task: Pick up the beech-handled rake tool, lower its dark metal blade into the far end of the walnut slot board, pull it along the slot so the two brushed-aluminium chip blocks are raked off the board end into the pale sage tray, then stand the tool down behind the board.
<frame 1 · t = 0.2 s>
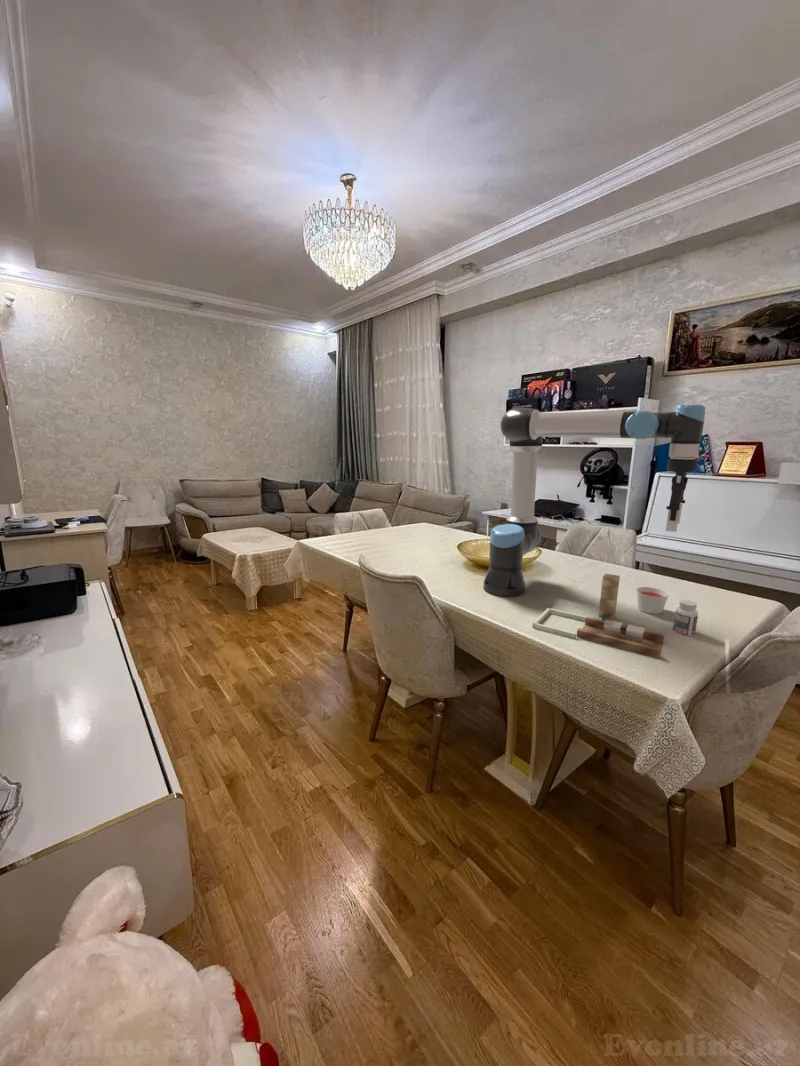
hand: (672, 527, 134), 28 cm above the table, fingers open, 13 cm apart
chip a: (611, 636, 120), point 1 cm above the table, touching slot board
white round cup: (649, 610, 140), on the table
pill bottle: (683, 634, 124), on the table
rake: (606, 619, 133), on the table
slot board: (619, 642, 119), on the table
tray: (560, 627, 128), on the table
chip b: (633, 642, 117), point 1 cm above the table, touching slot board
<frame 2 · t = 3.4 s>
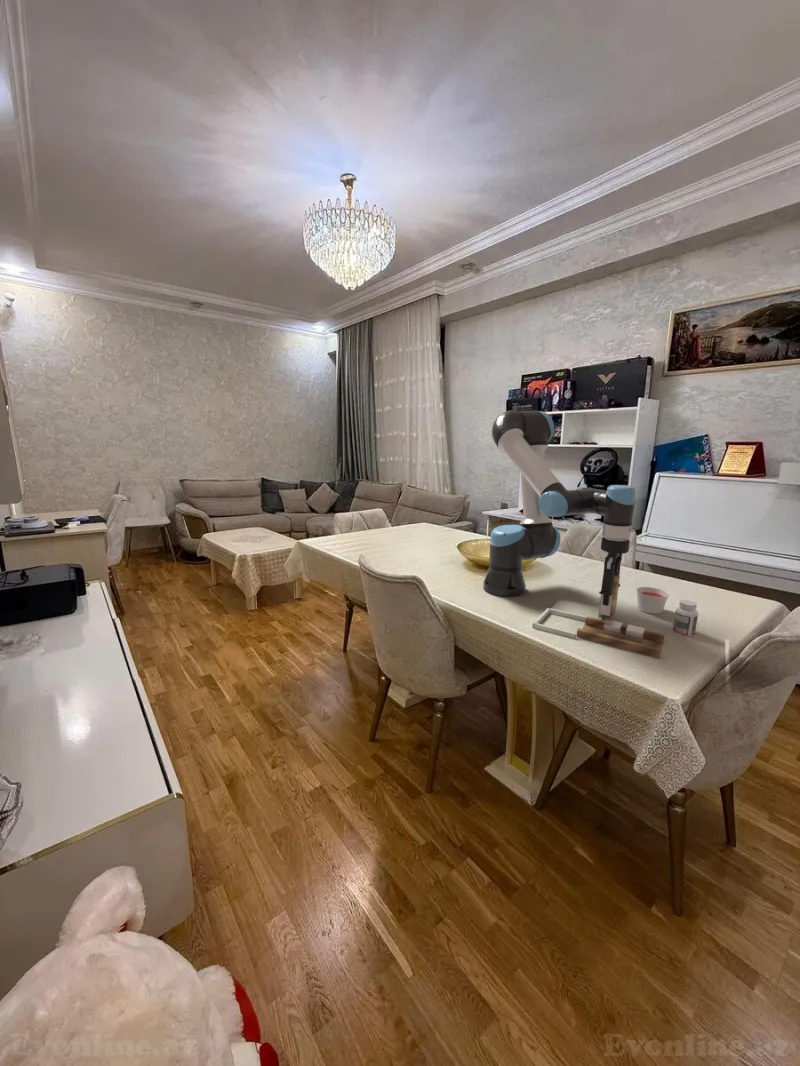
hand: (607, 610, 133), 3 cm above the table, fingers closed on rake, 7 cm apart
rake: (606, 619, 133), on the table, touching gripper
everything else where it was.
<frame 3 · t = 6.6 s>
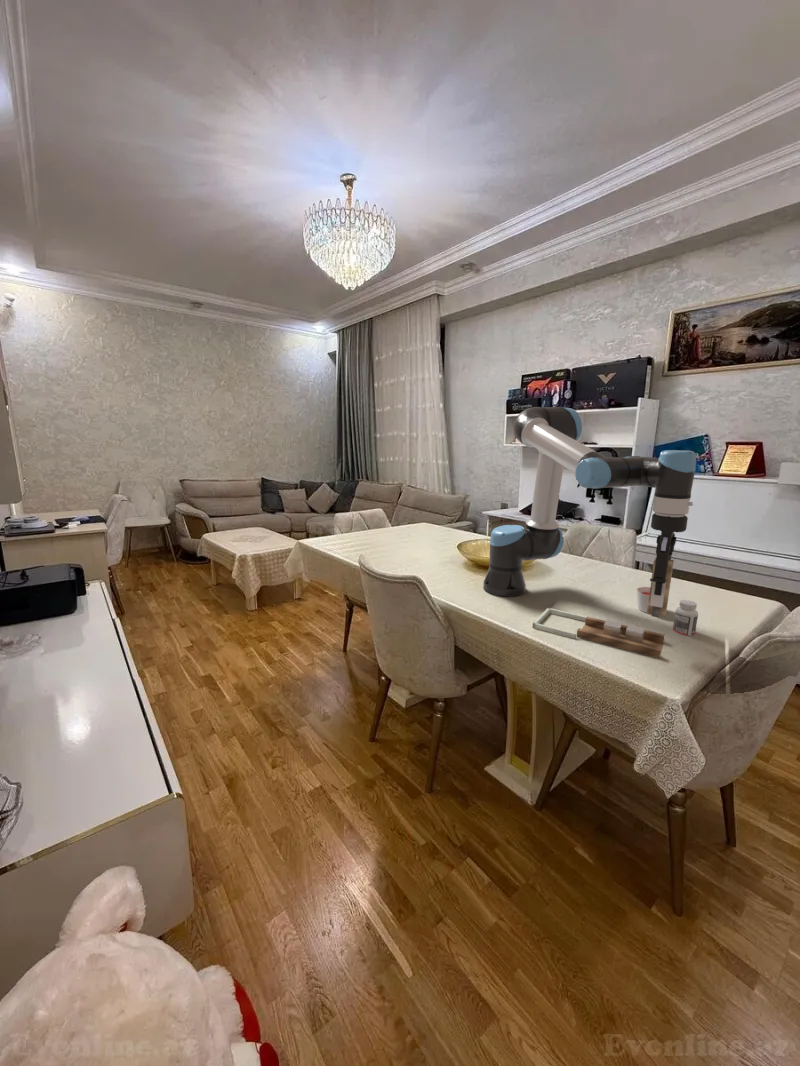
hand: (658, 601, 111), 14 cm above the table, fingers closed on rake, 7 cm apart
rake: (656, 612, 112), point 11 cm above the table, touching gripper
everything else where it was.
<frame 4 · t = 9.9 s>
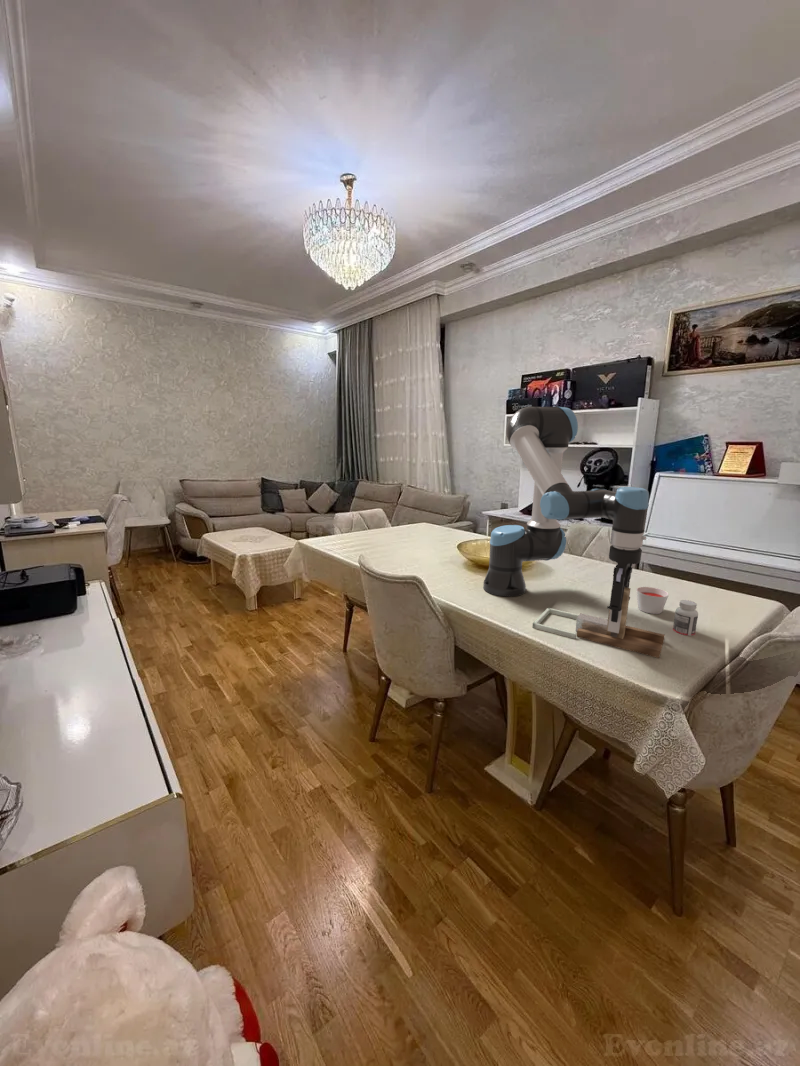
hand: (615, 626, 119), 4 cm above the table, fingers closed on rake, 7 cm apart
chip a: (584, 630, 124), point 1 cm above the table, touching chip b
rake: (615, 636, 119), point 1 cm above the table, touching chip b, gripper
chip b: (599, 633, 122), point 1 cm above the table, touching chip a, rake
everything else where it was.
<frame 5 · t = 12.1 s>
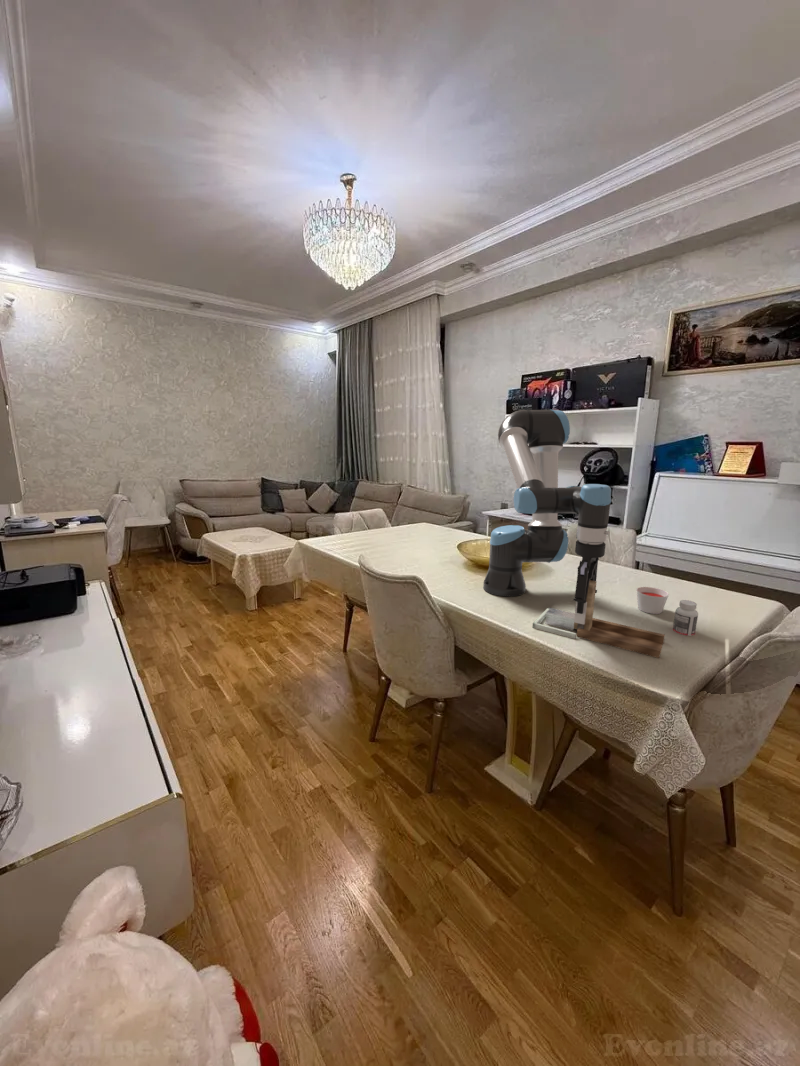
hand: (582, 618, 124), 5 cm above the table, fingers closed on rake, 7 cm apart
chip a: (554, 624, 129), point 1 cm above the table, touching chip b, tray
rake: (582, 627, 124), point 2 cm above the table, touching chip b, gripper
chip b: (567, 627, 127), point 1 cm above the table, touching chip a, rake, tray
everything else where it was.
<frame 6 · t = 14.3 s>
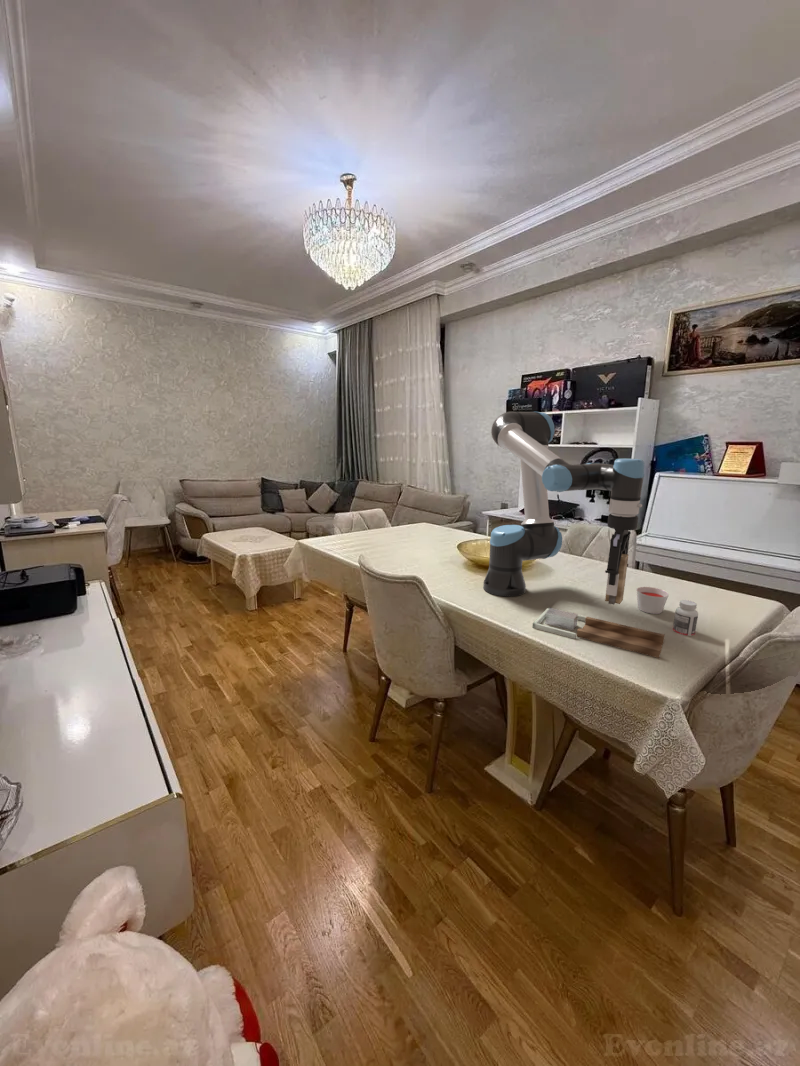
hand: (614, 590, 126), 11 cm above the table, fingers closed on rake, 7 cm apart
rake: (613, 600, 127), point 8 cm above the table, touching gripper
chip b: (567, 627, 127), point 1 cm above the table, touching chip a, tray
everything else where it was.
when the fingers open (4 cm above the table, at t = 16.3 s): rake drops 1 cm, on the table.
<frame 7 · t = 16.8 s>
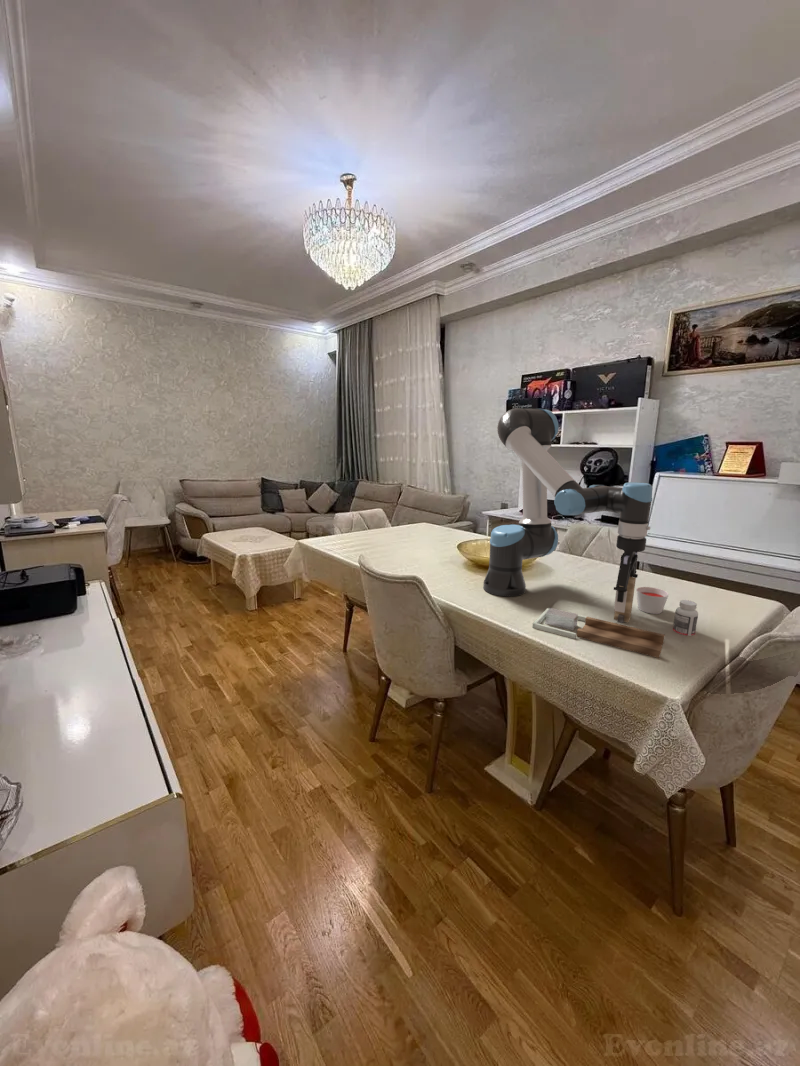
hand: (623, 604, 131), 6 cm above the table, fingers open, 13 cm apart
rake: (621, 621, 132), on the table
everything else where it was.
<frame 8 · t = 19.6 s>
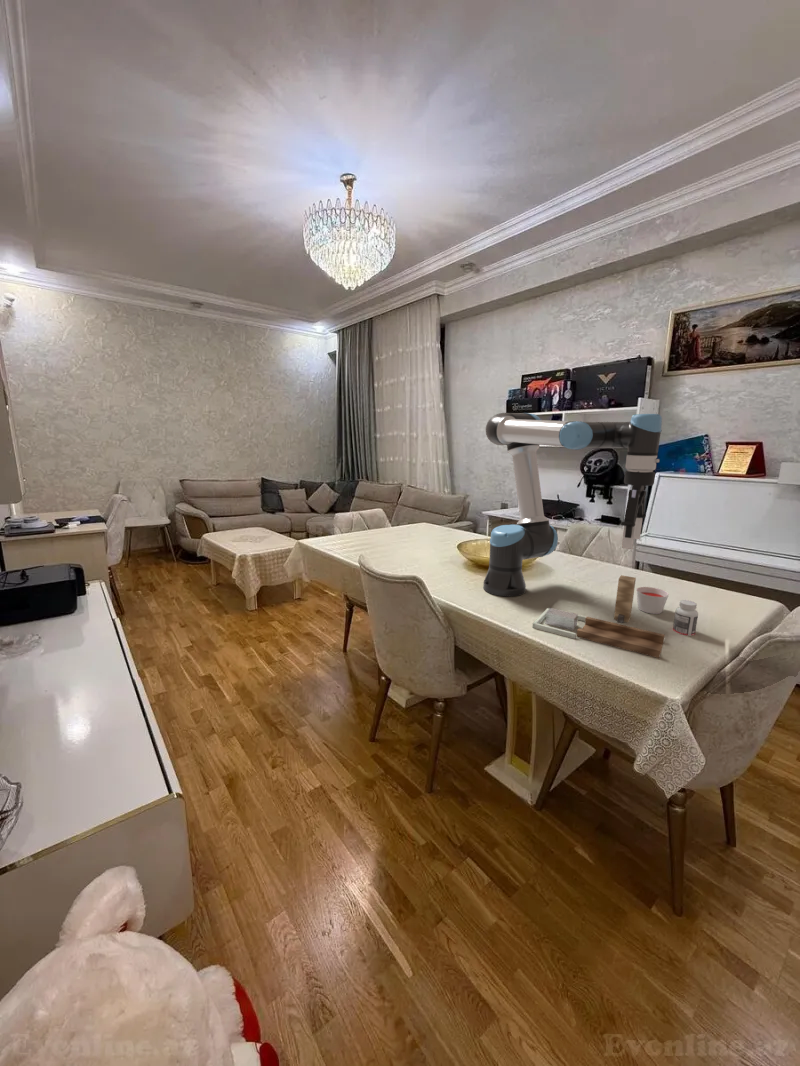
hand: (630, 543, 126), 25 cm above the table, fingers open, 13 cm apart
nothing on the table moved.
at the end: chip a inside the target area on the tray (1.8 cm from its centre), point 0.6 cm above the tray's base; chip b inside the target area on the tray (2.2 cm from its centre), point 0.6 cm above the tray's base; the gripper is holding nothing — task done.
